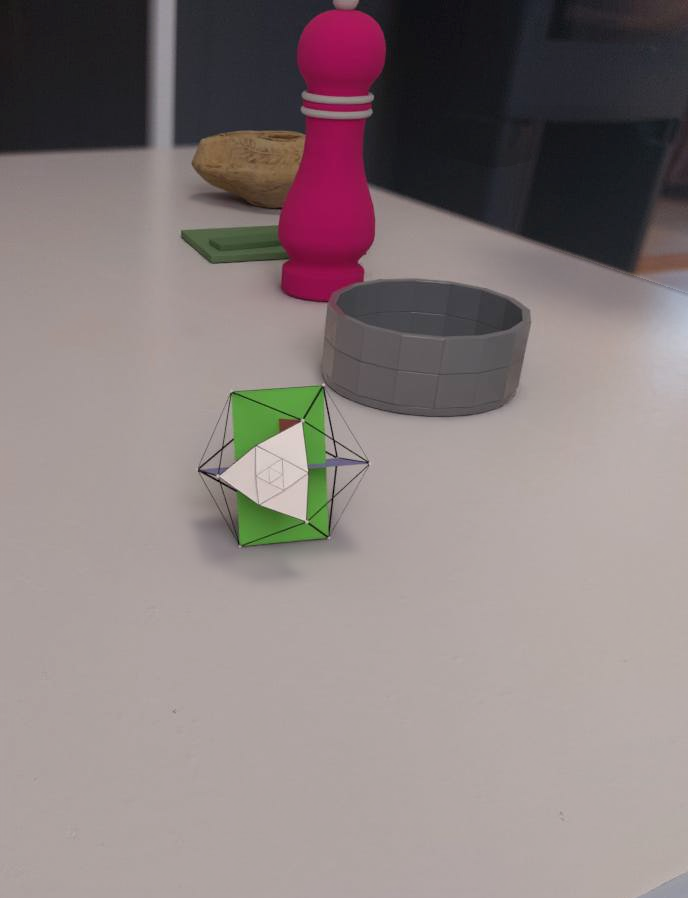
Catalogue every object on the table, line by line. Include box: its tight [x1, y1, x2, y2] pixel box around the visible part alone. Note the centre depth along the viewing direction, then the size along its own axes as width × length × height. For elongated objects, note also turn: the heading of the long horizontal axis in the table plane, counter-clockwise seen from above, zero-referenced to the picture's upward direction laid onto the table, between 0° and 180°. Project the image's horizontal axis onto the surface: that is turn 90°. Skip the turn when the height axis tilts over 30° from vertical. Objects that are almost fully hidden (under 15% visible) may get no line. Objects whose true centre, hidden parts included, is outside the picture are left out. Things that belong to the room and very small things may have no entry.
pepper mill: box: [277, 0, 387, 302], centre depth 73 cm, size 7×7×20 cm
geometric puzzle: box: [195, 383, 373, 549], centre depth 45 cm, size 7×7×8 cm
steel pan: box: [321, 277, 532, 417], centre depth 62 cm, size 12×12×4 cm
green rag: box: [180, 224, 367, 264], centre depth 90 cm, size 14×9×1 cm, turn 107°
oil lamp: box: [191, 130, 306, 209], centre depth 102 cm, size 11×15×8 cm
